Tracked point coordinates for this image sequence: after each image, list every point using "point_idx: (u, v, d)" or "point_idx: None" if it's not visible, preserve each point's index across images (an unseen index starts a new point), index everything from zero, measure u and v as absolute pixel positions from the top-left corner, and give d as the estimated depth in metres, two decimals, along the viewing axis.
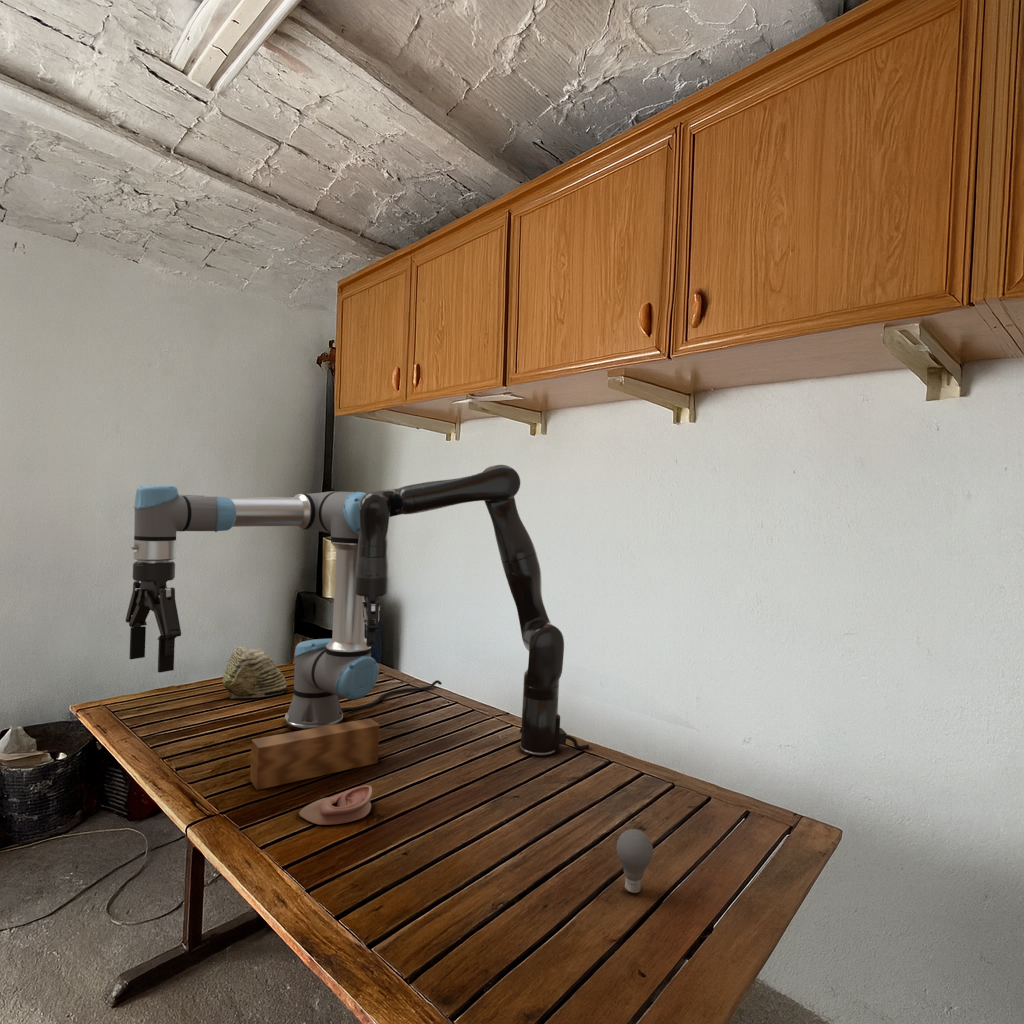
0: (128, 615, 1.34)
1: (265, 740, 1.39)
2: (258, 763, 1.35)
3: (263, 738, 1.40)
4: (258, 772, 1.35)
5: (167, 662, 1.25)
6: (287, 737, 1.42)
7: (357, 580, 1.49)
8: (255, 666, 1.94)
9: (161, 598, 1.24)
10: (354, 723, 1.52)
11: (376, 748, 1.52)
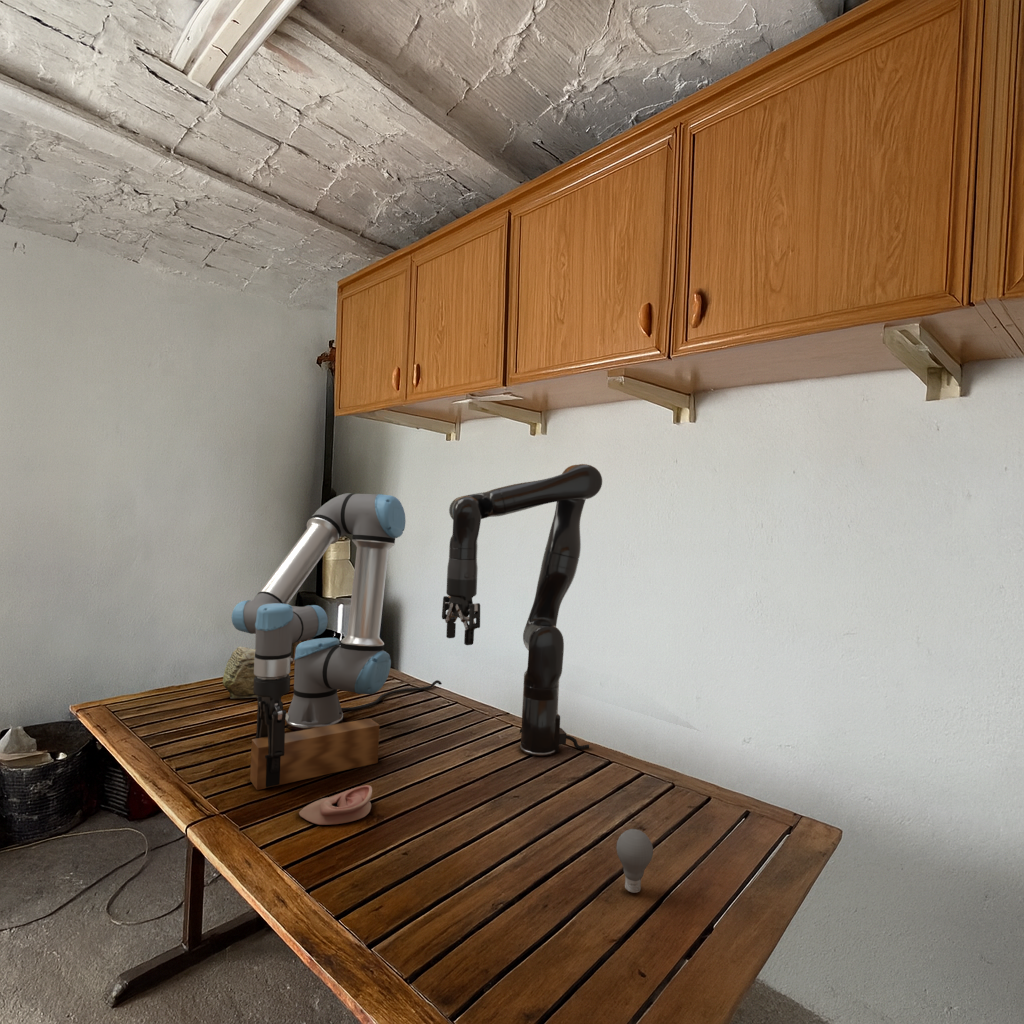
0: None
1: (265, 740, 1.39)
2: (258, 763, 1.35)
3: (263, 738, 1.40)
4: (258, 772, 1.35)
5: None
6: (287, 737, 1.42)
7: (453, 582, 1.54)
8: None
9: None
10: (354, 723, 1.52)
11: (376, 748, 1.52)
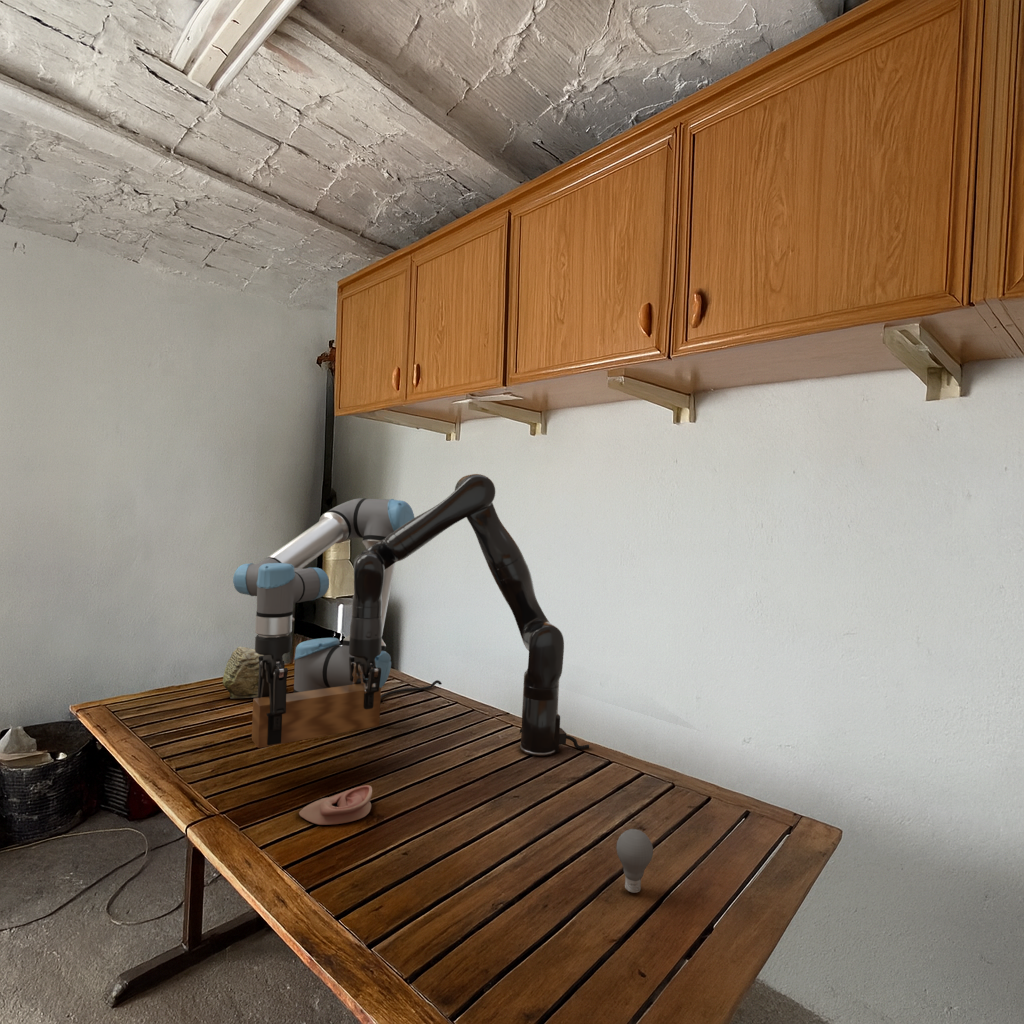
0: None
1: (267, 699, 1.39)
2: (259, 721, 1.35)
3: (264, 697, 1.40)
4: (259, 730, 1.35)
5: None
6: (288, 696, 1.42)
7: (354, 642, 1.49)
8: (255, 666, 1.94)
9: None
10: (356, 686, 1.52)
11: (377, 711, 1.51)
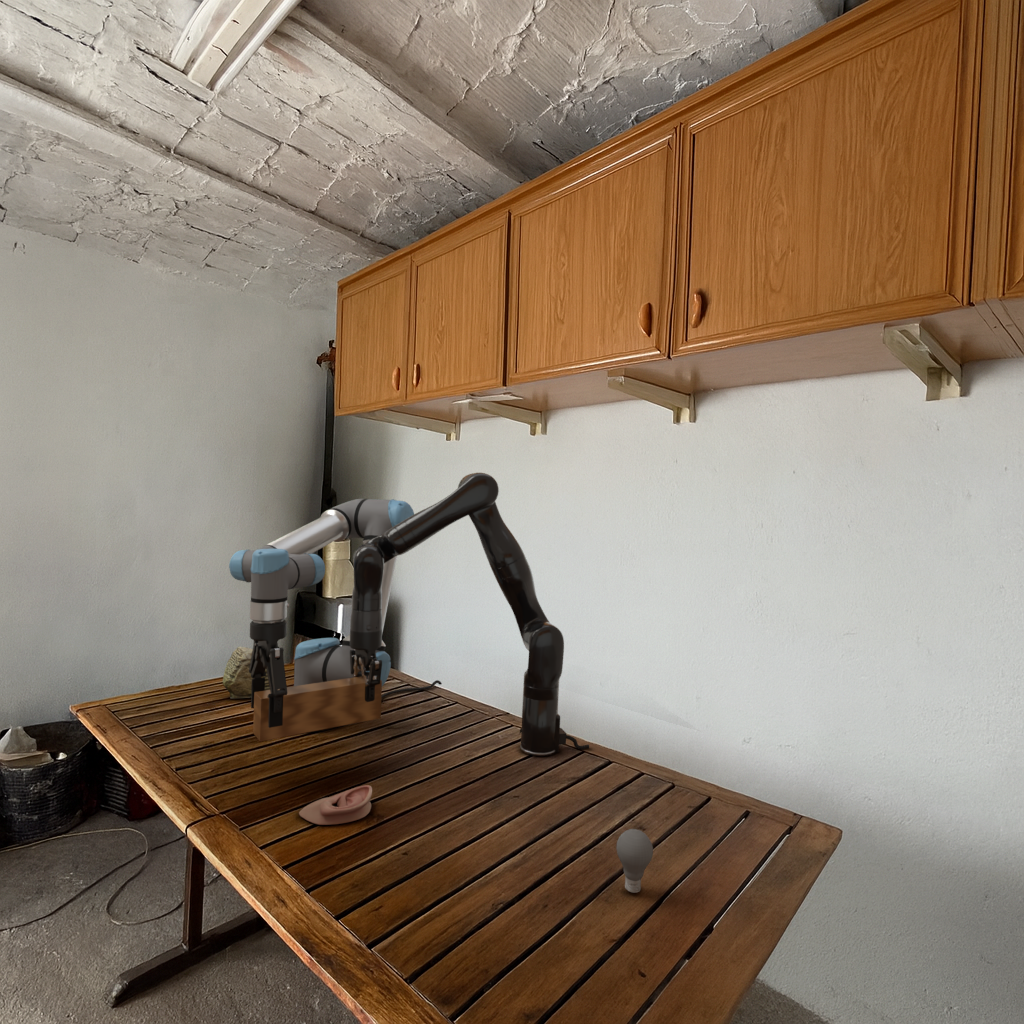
0: None
1: (268, 693, 1.39)
2: (261, 714, 1.35)
3: (266, 691, 1.40)
4: (261, 723, 1.35)
5: None
6: (289, 690, 1.42)
7: (354, 634, 1.49)
8: None
9: None
10: (357, 679, 1.52)
11: (379, 703, 1.51)
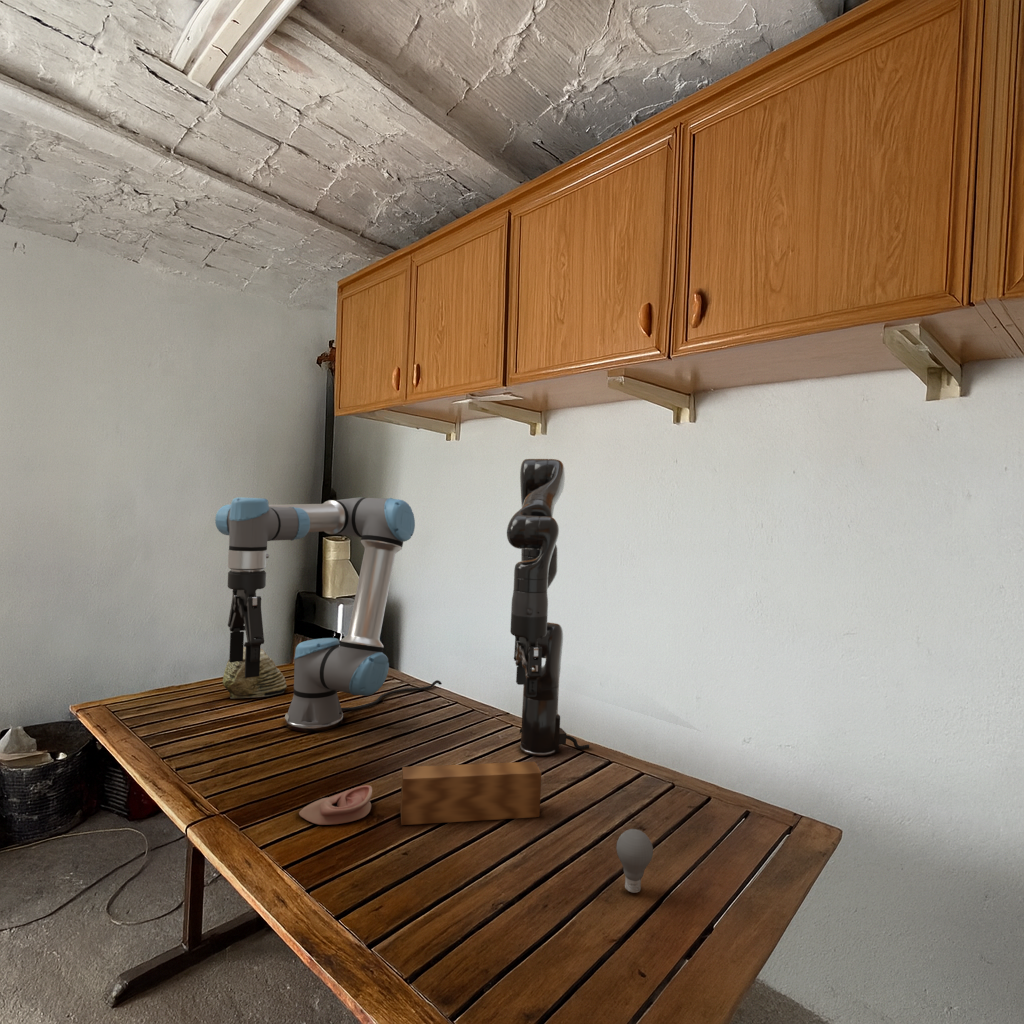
0: None
1: (414, 771, 1.27)
2: (403, 796, 1.24)
3: (413, 767, 1.29)
4: (403, 805, 1.24)
5: None
6: (437, 770, 1.28)
7: (514, 618, 1.28)
8: None
9: None
10: (514, 766, 1.32)
11: (537, 799, 1.29)
